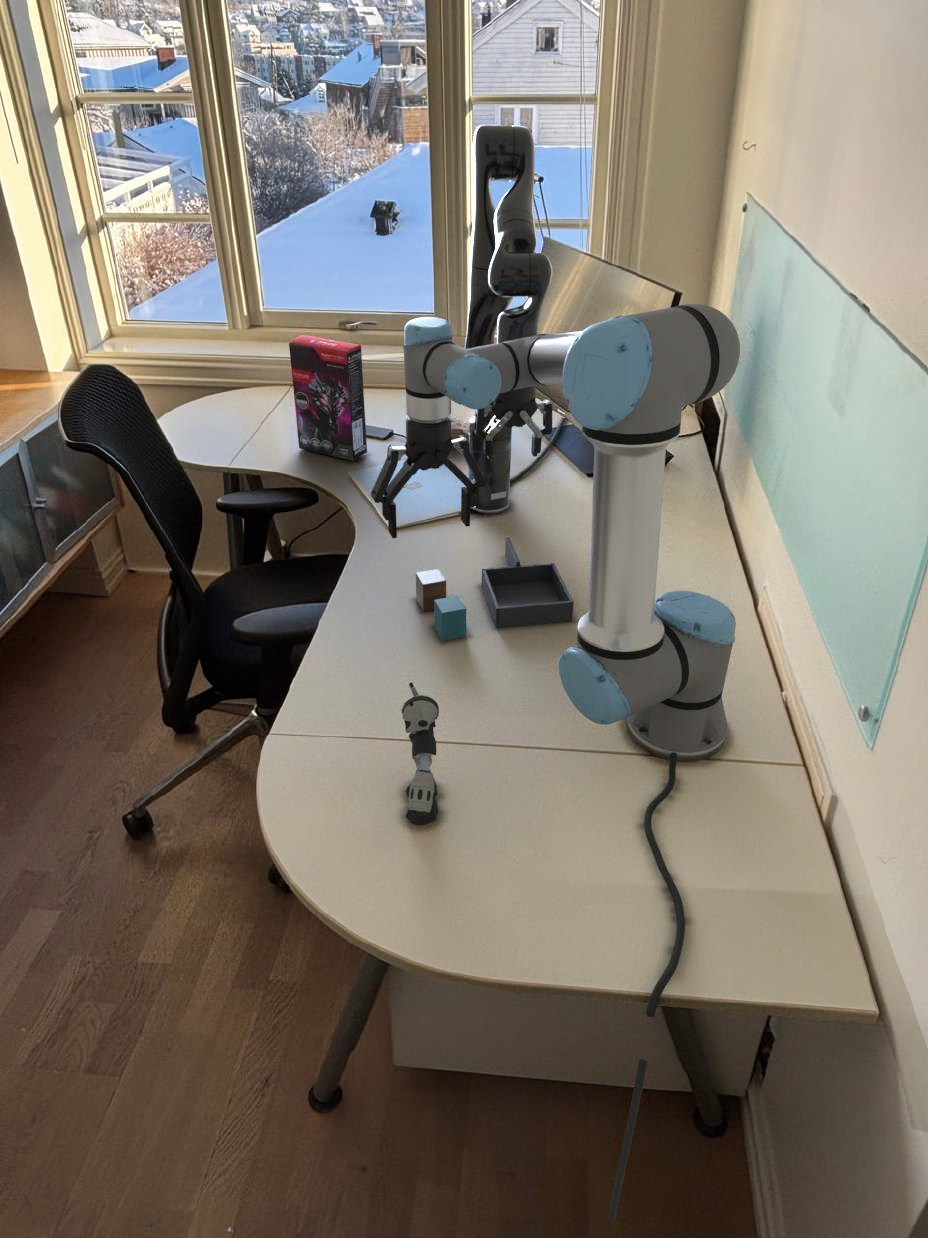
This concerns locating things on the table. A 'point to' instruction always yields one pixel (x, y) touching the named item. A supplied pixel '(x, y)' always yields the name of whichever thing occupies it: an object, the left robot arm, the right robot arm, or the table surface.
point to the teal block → (450, 618)
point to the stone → (459, 429)
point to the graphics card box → (329, 396)
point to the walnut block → (429, 588)
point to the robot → (421, 756)
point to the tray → (525, 592)
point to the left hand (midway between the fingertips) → (511, 456)
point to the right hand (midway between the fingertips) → (429, 528)
